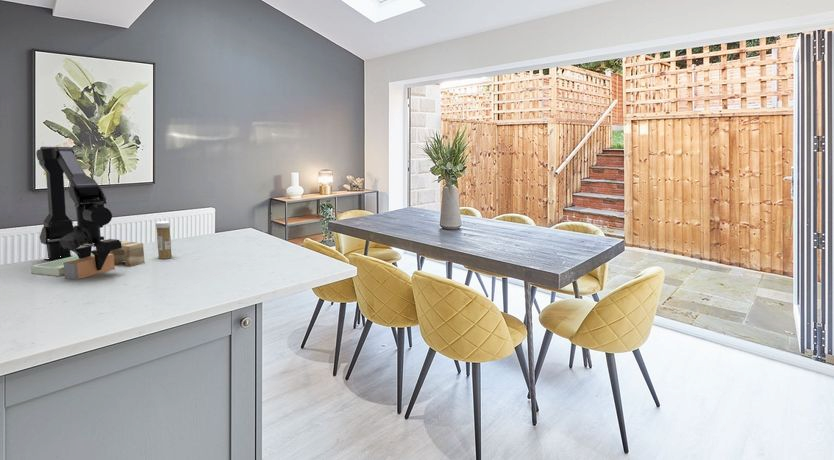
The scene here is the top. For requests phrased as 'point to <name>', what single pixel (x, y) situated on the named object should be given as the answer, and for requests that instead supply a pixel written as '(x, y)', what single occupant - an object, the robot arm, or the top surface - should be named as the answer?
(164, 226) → the sprinkles bottle
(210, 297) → the top surface
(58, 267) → the tray
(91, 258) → the orange rectangular block
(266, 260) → the top surface
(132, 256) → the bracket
